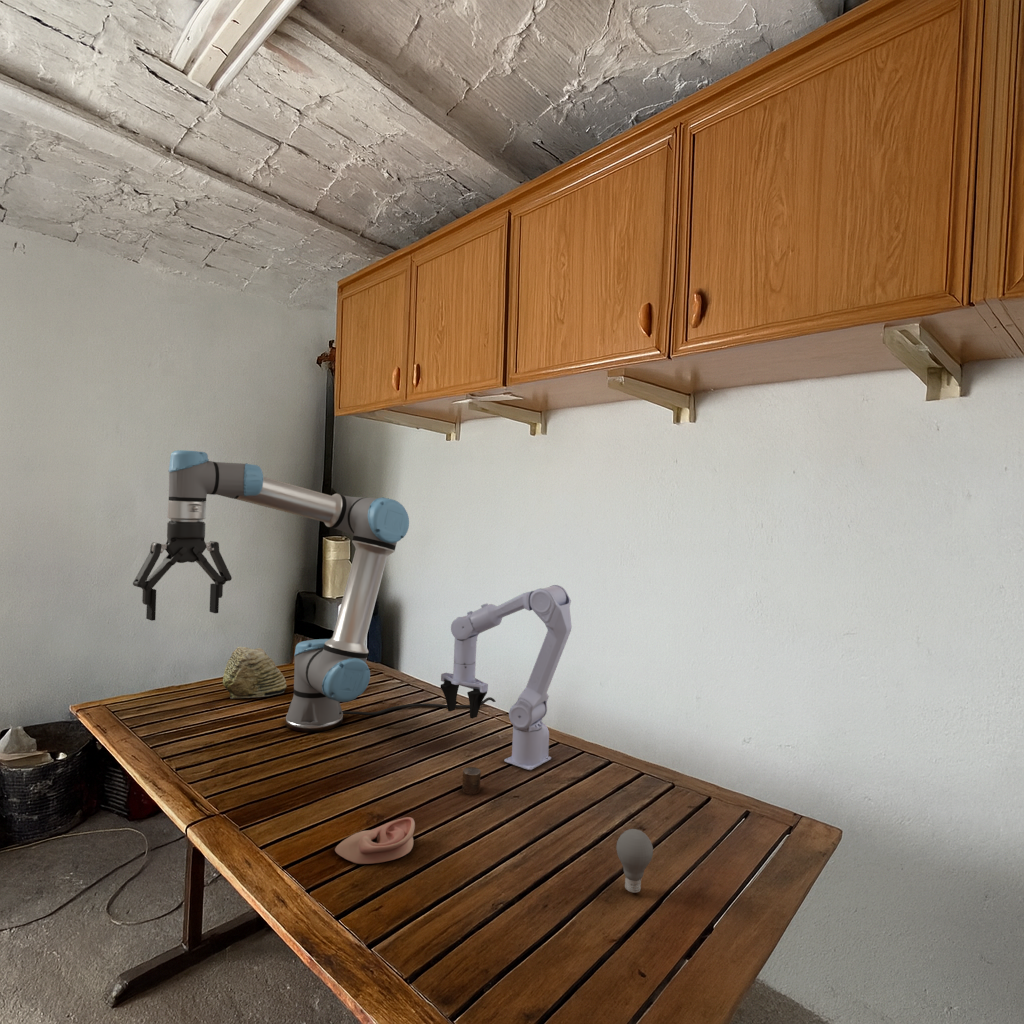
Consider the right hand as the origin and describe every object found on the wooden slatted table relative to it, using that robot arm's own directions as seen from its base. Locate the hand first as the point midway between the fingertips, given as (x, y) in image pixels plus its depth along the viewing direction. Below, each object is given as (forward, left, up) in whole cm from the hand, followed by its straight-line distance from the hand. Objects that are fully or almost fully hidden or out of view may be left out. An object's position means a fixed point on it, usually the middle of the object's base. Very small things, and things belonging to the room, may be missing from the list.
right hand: (462, 713), depth 165 cm
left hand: (+56, -35, +27) cm, 71 cm away
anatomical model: (+47, +21, -8) cm, 52 cm away
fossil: (+14, -74, -8) cm, 75 cm away
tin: (+18, +19, -8) cm, 27 cm away
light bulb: (+28, +63, -8) cm, 69 cm away
